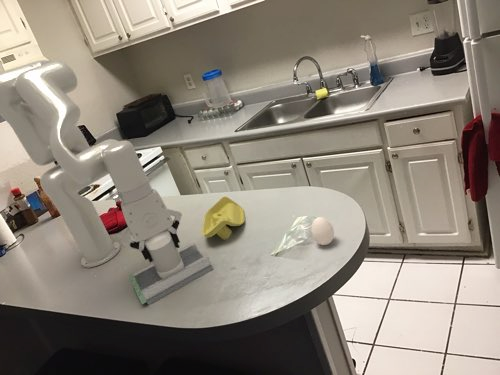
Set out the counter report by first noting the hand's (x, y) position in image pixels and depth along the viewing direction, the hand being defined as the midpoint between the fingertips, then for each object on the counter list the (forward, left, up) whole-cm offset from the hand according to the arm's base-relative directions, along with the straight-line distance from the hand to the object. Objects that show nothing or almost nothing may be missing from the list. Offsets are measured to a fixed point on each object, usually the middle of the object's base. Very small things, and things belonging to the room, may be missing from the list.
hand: (163, 252), depth 110 cm
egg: (+21, +34, -8) cm, 41 cm away
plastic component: (-11, +20, -8) cm, 24 cm away
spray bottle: (0, 0, -6) cm, 6 cm away
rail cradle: (0, 0, -8) cm, 8 cm away
